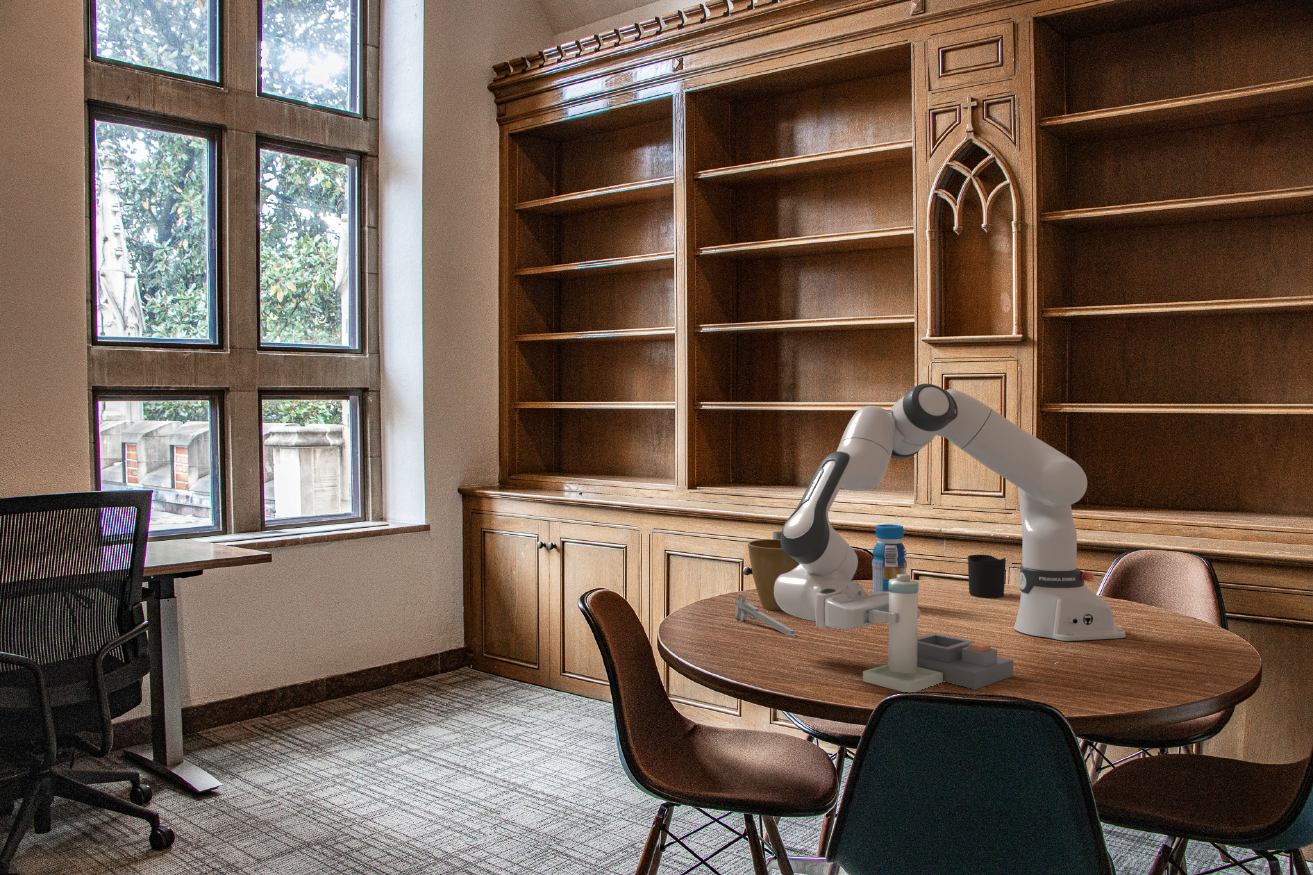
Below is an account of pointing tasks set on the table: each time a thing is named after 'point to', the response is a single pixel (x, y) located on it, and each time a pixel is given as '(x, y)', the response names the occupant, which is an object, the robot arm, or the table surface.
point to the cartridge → (903, 624)
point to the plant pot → (768, 568)
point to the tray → (902, 678)
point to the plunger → (979, 647)
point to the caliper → (758, 616)
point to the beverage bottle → (888, 556)
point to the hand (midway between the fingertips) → (907, 616)
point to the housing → (961, 661)
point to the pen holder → (986, 576)
